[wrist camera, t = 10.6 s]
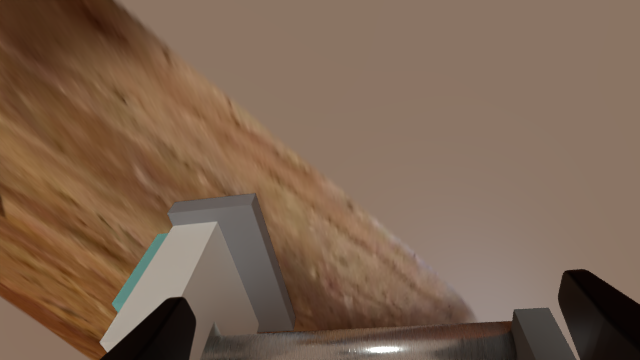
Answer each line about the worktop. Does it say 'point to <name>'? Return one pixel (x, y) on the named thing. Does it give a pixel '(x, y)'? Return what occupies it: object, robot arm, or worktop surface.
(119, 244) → the worktop surface
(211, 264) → the bracket
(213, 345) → the shaft
